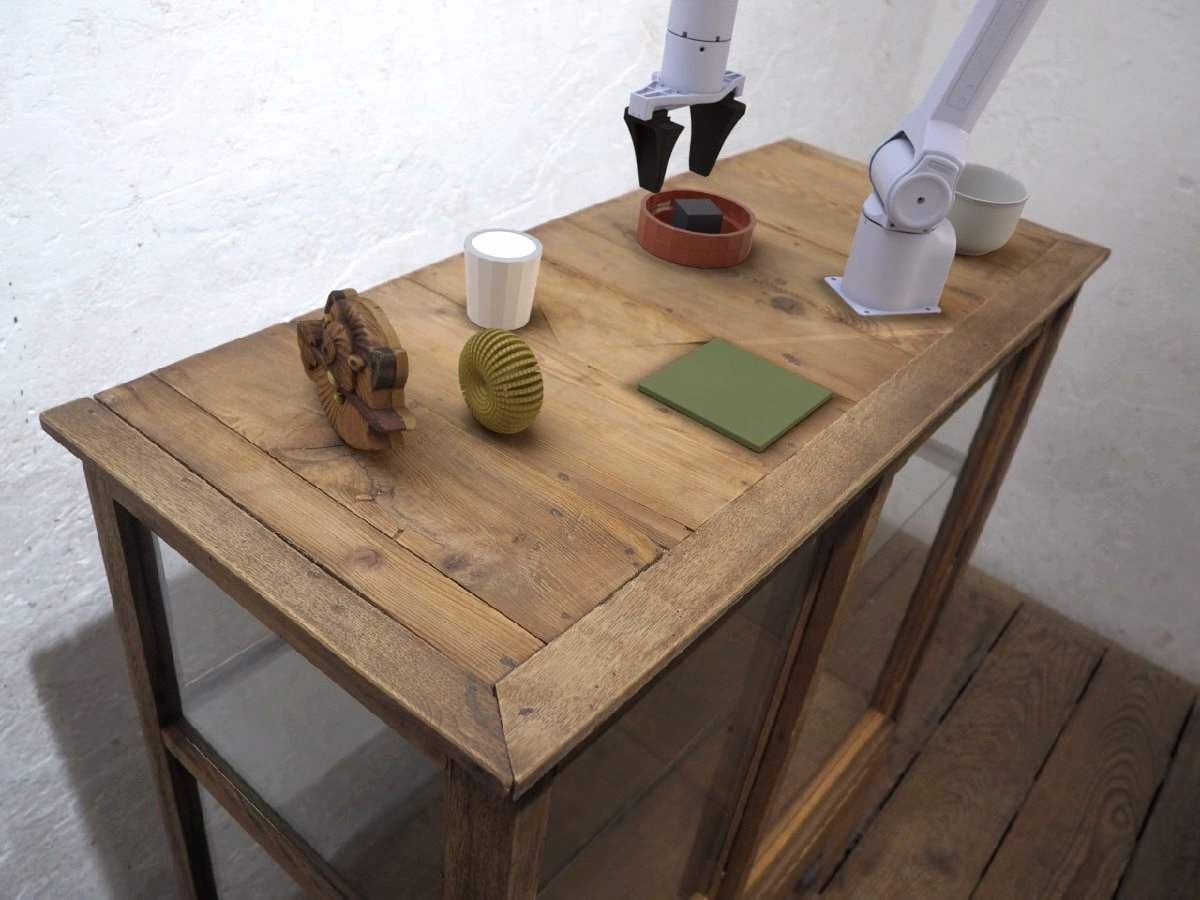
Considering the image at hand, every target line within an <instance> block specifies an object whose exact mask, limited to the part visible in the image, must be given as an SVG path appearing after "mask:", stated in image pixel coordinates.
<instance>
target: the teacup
mask: <svg viewBox="0 0 1200 900" xmlns="http://www.w3.org/2000/svg"><path fill="white" fill-rule="evenodd" d="M1030 197H1031V189H1030V188H1029V186H1028V184H1027V183H1026V182H1024V180H1022V179H1021V178H1019V177H1018V176H1016V175H1015V174H1013V173H1011V172H1008V171H1006V170H1004V169H1001V168H998V167H997V166H993V165H990V164H986V163H982V162H976V161H970V160H966V165H965V168H964V170H963V171H962V173H961V175H960V177H959V179H958V181H957V184H956V189H955V199H954V203H953V206H952V208H951V210H950V212H949V213H948V214H947V216H946V217H945V218H947V219H948V220H949V222H950V223H951V224H952V226H953V228H954V231H955V235H956V250H955V254H958V255H963V256H971V257H973V256H974V257H975V256H976V257H977V256H981V255H985V254H988V253H990V252H992V251H995V250H996V251H997V250H998V249H1000V248H1002V247H1003V246H1004V245H1005V244H1007V243H1008V241H1009V240H1010V239H1011V238H1012V236H1013V233H1014V231H1015V230H1016V228H1017V226H1018V223H1019V221H1020V219H1021V216H1022V213H1023V212H1024V209H1025V206H1026V203H1027V202H1028V200H1029V199H1030Z"/></svg>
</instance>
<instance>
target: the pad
mask: <svg viewBox="0 0 1200 900" xmlns="http://www.w3.org/2000/svg"><path fill="white" fill-rule="evenodd" d="M636 388H637V391H640V392H641V393H643V394H645V395H647V396H649V397H651V398H653V399H654V400H657V401H658V402H661V403H663V404H664V405H666V406H668V407H670V408H672V409H674V410H676V411H677V412H680V413H682V414H683V415H686V416H687V417H689V418H691V419H693V420H695V421H697V422H699V423H700V424H703V425H705V426H707V427H709V428H710V429H712V430H715V431H716V432H718V433H720V434H722V435H724V436H726V437H727V438H730V439H732V440H734V441H736V442H737V443H739V444H741V445H742V446H745V447H746V448H748V449H750V450H753V451H755V452H757V453H760V452H762V451H763V450H764V449H766V448H767V447H769V446H770V445H771V444H772V443H774V442H775V441H776V440H777V439H779V438H780V437H781V436H783V435H784V434H785V433H787V432H788V431H789V430H790V429H792V428H793V427H794V426H796V425H797V424H799V423H800V422H801V421H802V420H804V419H805V418H806V417H807V416H809V415H810V414H811V413H813V412H814V411H815V410H817V409H818V408H819V407H820V406H822V405H824V404H825V403H826V402H828V400H830V399H832V396H833V391H832V390H830V389H828V388H825V387H824V386H821V385H820V384H817V383H815V382H813V381H811V380H809V379H807V378H805V377H803V376H800V375H798V374H795V373H794V372H791V371H789V370H787V369H785V368H783V367H781V366H779V365H777V364H775V363H773V362H770V361H769V360H766V359H765V358H762V357H760V356H758V355H755V354H754V353H751V352H749V351H747V350H745V349H743V348H741V347H739V346H737V345H734V344H732V343H730V342H728V341H726V340H724V339H722V338H720V337H714V338H712V339H711V340H710V341H708V342H706V343H705V344H703V345H701V346H699V347H697V348H696V349H694V350H693V351H690V352H689V353H687V354H686V355H684V356H682V357H680V358H679V359H677V360H676V361H674V362H672V363H671V364H669V365H667V366H666V367H664V368H662V369H660V370H659V371H657V372H655V373H654V374H652V375H649V377H647V378H645V379H643V380H642V381H639V382H638V383H637V387H636Z"/></svg>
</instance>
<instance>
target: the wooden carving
mask: <svg viewBox="0 0 1200 900" xmlns="http://www.w3.org/2000/svg"><path fill="white" fill-rule="evenodd" d="M323 312H324V313H323V316H322V317H317V318H316V319H308V320H298V322H297V323H296V339H297V346H298V349H299V352H300V354H299V357H300V360H301V363H302V365H303V369H304V373H305V375H306V376H307V378H309V380H310V381H312V382H313V383H314V384H317V386H318V387H317V395H318V398H319V401H320V405H321V406H322V409H323V411H324V414H325V415H326V418H327V419H328V421H329V423H330V425H331V426H332V428H334V430H335V432H336V433H337V434H338V436H339V437H341V438H342V439H343V440H344V442H345V443H346V444H348V445H349V446H351V447H352V448H355V449H358V450H362V451H378V450H384V449H388V450H394V449H403V448H405V445H406V442H405V439H404V434H403V432H414V431H416V430H417V421H416V418H415V415H414V414H413V413H412V411H410V409H409V408H408V407H407V406H406V399H405V397H406V396H405V386H406V385H407V382H408V379H409V370H410V369H409V368H410V367H409V365H410V364H409V363H410V362H409V357H408V352H407V350H406V349H405V348H403V347H402V344H401V341H400V339H399V337H398V334H397V332H396V330H395V329H394V325H392V323H391V322H390V319H389V317H388V316H387V313H386V311H384V309H383V308H382V307H381V306H380V305H378V304H377V302H376V301H375V300H374V299H371V298H368V297H365V296H359V293H358V291H357V290H356V289H355V288H353V287H349V288H343V289H333V290H332V291H330V293H329V294H328V296H327V299H326V303H325V305H324V311H323Z"/></svg>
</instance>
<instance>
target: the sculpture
mask: <svg viewBox="0 0 1200 900" xmlns="http://www.w3.org/2000/svg"><path fill="white" fill-rule="evenodd" d="M538 363H539V362H538V360H537V358H536V356H535V354H534V352H533V351H532V349H531V348H530V346H529V345H528V344H527V343H526V342H525V340H524V339H522V338H521V337H520V336H519V335H517V334H515V333H514V332H512V331H511V330H505V329H501V328H499V329H498V328H489V329H487V328H484V329H482V330H480V331H478V332H476V333H475V334H473V335H472V336H471V337H469V339H468V340H467V342H465V344H464V346H463V347H462V350H461V352H460V355H459V359H458V365H457V372H458V375H457V376H458V383H459V388H460V391H461V395H462V397H464V398H463V400H464V402H465V403H466V407H467V408H468V409H469V411H470V413H471V415H472V416H473V417H474V418H475V419H476V420H477V421H478V422H479V424H481V425H482V426H483V427H485V428H486V429H488V430H490V431H492V432H494V433H498V434H503V435H506V434H508V435H510V434H515V433H516V434H517V433H519V432H522V431H523V430H526V429H527V428H528V427H530V426H531V425H532V424H533V423H534V421H535V420H536V419H537V418H538V416H539V415H540V412H541V409H542V408H543V407H542V405H543V403H544V401H543V400H544V397H545V395H544V392H545V388H544V387H545V386H544V379H543V373H542V371H540V370H541V366H540V365H538Z"/></svg>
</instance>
